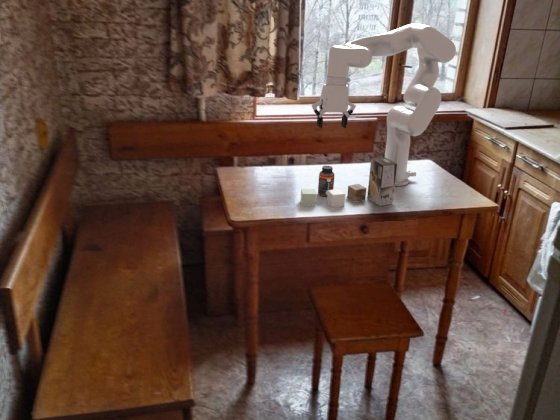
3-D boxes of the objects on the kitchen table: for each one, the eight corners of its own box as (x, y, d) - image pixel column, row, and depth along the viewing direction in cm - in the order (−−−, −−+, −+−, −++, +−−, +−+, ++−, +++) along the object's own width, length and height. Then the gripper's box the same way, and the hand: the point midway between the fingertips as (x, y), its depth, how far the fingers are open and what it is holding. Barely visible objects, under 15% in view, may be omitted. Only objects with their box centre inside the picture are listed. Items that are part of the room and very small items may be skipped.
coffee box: (393, 204, 210) (398, 164, 204) (378, 206, 208) (383, 165, 201) (380, 195, 218) (384, 156, 212) (366, 197, 216) (370, 158, 209)
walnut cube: (357, 195, 217) (358, 183, 215) (365, 200, 213) (366, 188, 211) (347, 197, 215) (348, 185, 213) (354, 202, 211) (355, 190, 209)
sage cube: (313, 201, 210) (314, 188, 208) (315, 206, 206) (316, 193, 204) (300, 201, 210) (301, 188, 208) (302, 206, 206) (302, 193, 204)
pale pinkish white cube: (338, 201, 211) (339, 189, 209) (344, 206, 207) (345, 193, 205) (326, 202, 210) (327, 190, 208) (332, 207, 205) (333, 195, 203)
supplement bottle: (332, 197, 214) (334, 170, 209) (316, 196, 215) (318, 168, 210) (333, 192, 219) (335, 165, 215) (318, 190, 220) (320, 163, 216)
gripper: (354, 79, 208) (348, 124, 214) (310, 78, 203) (306, 124, 209) (362, 83, 201) (356, 129, 208) (318, 82, 196) (313, 129, 203)
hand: (331, 127), depth 208 cm, fingers open, 9 cm apart
